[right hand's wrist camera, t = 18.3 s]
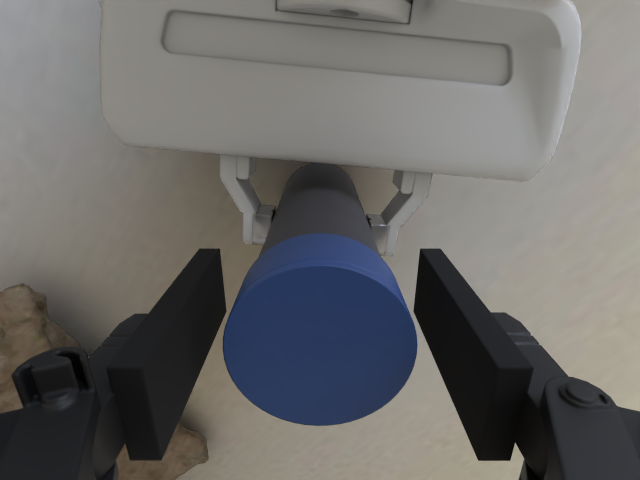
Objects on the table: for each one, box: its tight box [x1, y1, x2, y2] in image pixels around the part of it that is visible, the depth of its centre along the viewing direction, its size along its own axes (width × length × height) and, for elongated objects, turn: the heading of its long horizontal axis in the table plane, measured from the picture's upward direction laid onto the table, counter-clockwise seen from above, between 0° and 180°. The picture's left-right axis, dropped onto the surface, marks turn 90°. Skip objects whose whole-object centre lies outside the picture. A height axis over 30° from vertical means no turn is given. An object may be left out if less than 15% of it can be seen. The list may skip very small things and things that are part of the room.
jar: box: [259, 163, 381, 257], centre depth 18 cm, size 5×5×16 cm
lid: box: [223, 233, 417, 426], centre depth 11 cm, size 5×5×2 cm
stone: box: [0, 283, 208, 480], centre depth 30 cm, size 21×15×6 cm
